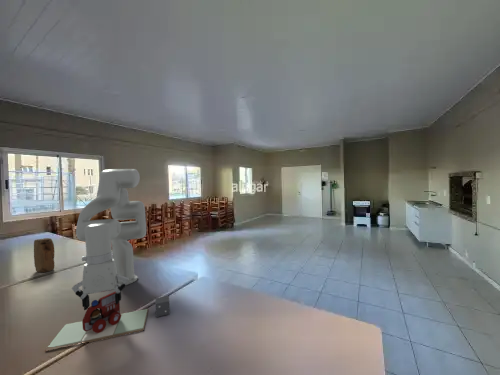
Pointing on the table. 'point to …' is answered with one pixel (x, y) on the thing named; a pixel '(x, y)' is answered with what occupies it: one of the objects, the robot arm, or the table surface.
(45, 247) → the block
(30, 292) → the table surface
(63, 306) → the table surface
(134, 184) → the robot arm
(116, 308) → the toy fire truck
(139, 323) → the pale green flat board
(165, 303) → the die
